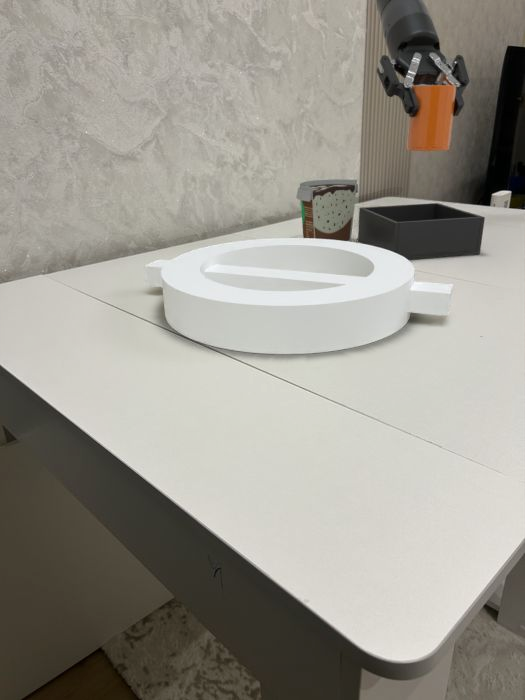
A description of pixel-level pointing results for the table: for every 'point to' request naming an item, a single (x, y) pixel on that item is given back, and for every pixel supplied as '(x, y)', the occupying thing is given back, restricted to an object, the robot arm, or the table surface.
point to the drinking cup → (432, 118)
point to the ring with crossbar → (292, 294)
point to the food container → (328, 208)
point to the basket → (421, 230)
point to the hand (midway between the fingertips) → (436, 112)
